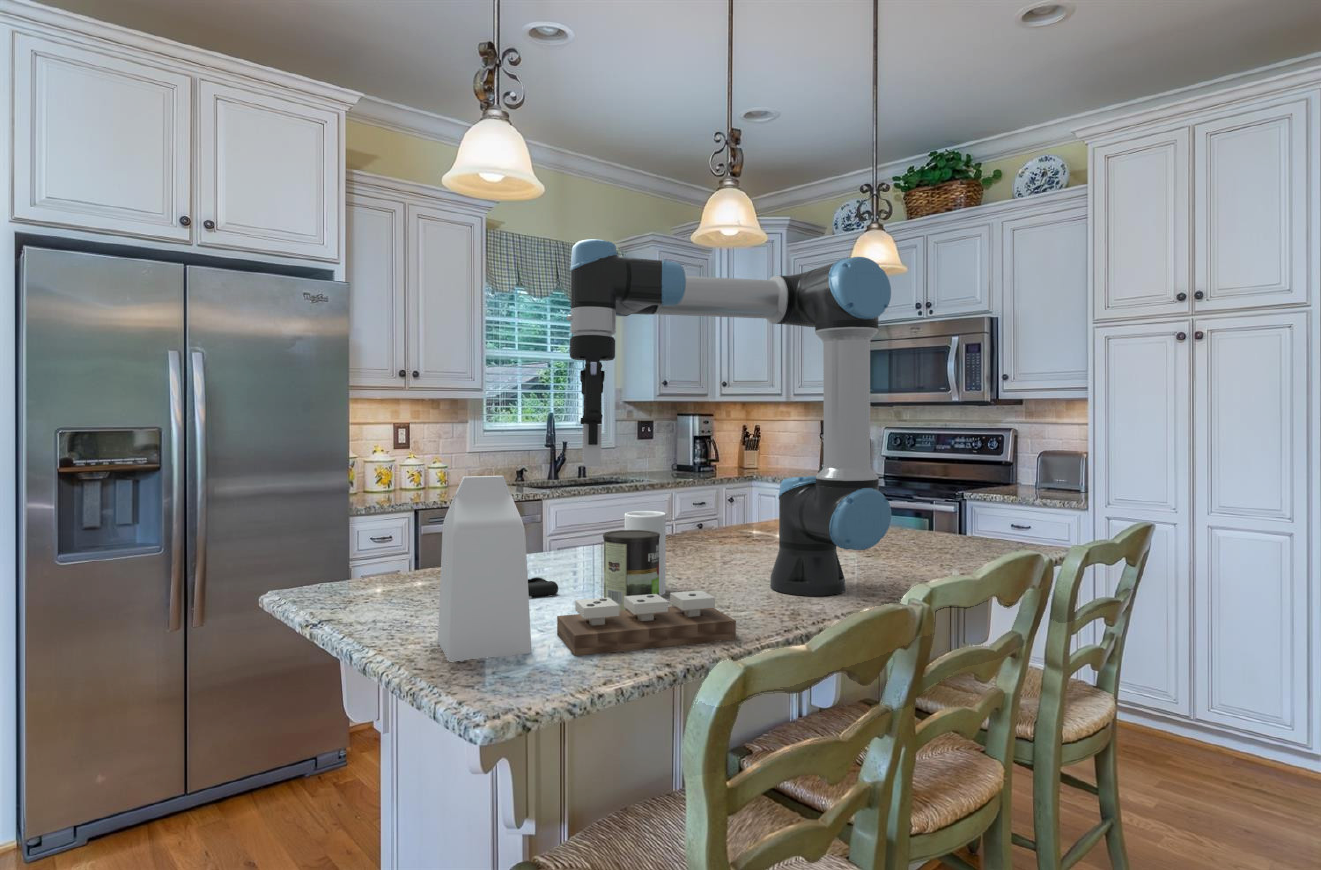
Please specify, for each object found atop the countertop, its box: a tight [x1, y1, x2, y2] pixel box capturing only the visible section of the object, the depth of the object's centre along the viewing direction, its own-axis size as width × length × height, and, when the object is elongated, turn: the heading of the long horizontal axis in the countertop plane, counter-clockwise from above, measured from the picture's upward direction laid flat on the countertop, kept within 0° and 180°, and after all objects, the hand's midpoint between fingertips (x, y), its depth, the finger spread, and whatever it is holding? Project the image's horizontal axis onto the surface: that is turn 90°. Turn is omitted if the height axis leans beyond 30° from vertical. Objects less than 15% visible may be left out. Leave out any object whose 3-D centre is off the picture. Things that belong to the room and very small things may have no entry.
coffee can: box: [602, 529, 660, 611], centre depth 140 cm, size 10×10×14 cm
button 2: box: [624, 594, 669, 621], centre depth 123 cm, size 6×6×4 cm
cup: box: [624, 510, 667, 597], centre depth 155 cm, size 8×8×16 cm
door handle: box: [528, 577, 559, 600], centre depth 154 cm, size 3×20×16 cm
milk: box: [437, 475, 533, 663], centre depth 117 cm, size 12×12×26 cm
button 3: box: [574, 597, 619, 626], centre depth 120 cm, size 6×6×4 cm
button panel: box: [556, 605, 737, 657], centre depth 123 cm, size 26×12×3 cm, turn 110°
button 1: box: [669, 589, 716, 617], centre depth 126 cm, size 6×6×4 cm
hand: (591, 463), depth 129 cm, fingers open, 13 cm apart
